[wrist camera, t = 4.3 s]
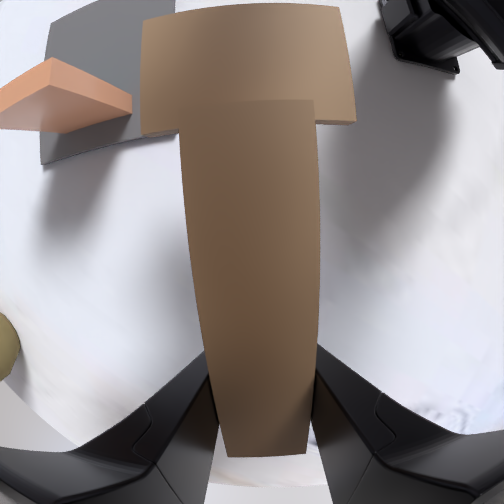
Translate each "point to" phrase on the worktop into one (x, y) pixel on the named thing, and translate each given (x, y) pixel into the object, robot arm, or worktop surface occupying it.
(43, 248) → the worktop surface
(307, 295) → the turner
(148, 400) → the robot arm
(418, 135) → the worktop surface
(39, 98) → the tile
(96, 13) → the mat
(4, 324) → the squeeze bottle
